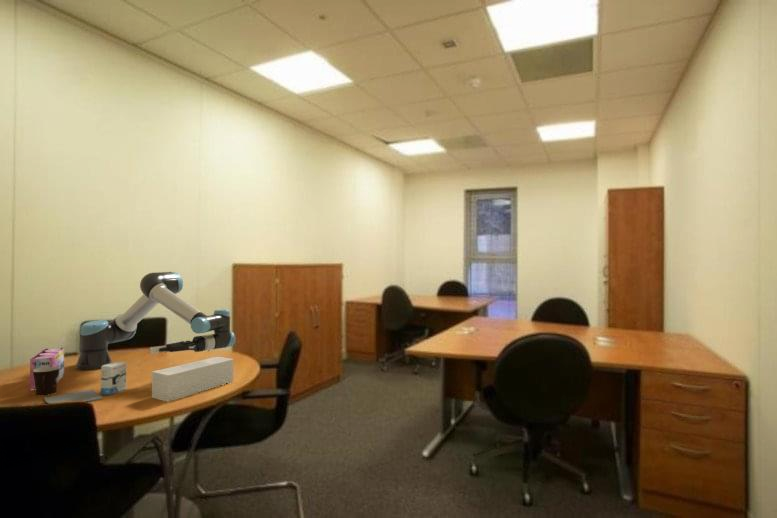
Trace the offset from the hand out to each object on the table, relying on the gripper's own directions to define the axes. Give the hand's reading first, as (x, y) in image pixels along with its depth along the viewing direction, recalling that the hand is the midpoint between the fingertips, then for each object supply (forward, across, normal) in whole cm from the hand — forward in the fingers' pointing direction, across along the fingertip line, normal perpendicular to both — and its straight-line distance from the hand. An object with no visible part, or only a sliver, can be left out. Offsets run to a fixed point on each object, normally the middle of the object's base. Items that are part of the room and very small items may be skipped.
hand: (150, 350), depth 189 cm
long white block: (-11, -20, -16) cm, 28 cm away
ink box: (+14, +1, -15) cm, 21 cm away
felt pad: (+28, +1, -15) cm, 32 cm away
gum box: (+31, +36, -15) cm, 50 cm away
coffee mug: (+35, +17, -15) cm, 42 cm away
